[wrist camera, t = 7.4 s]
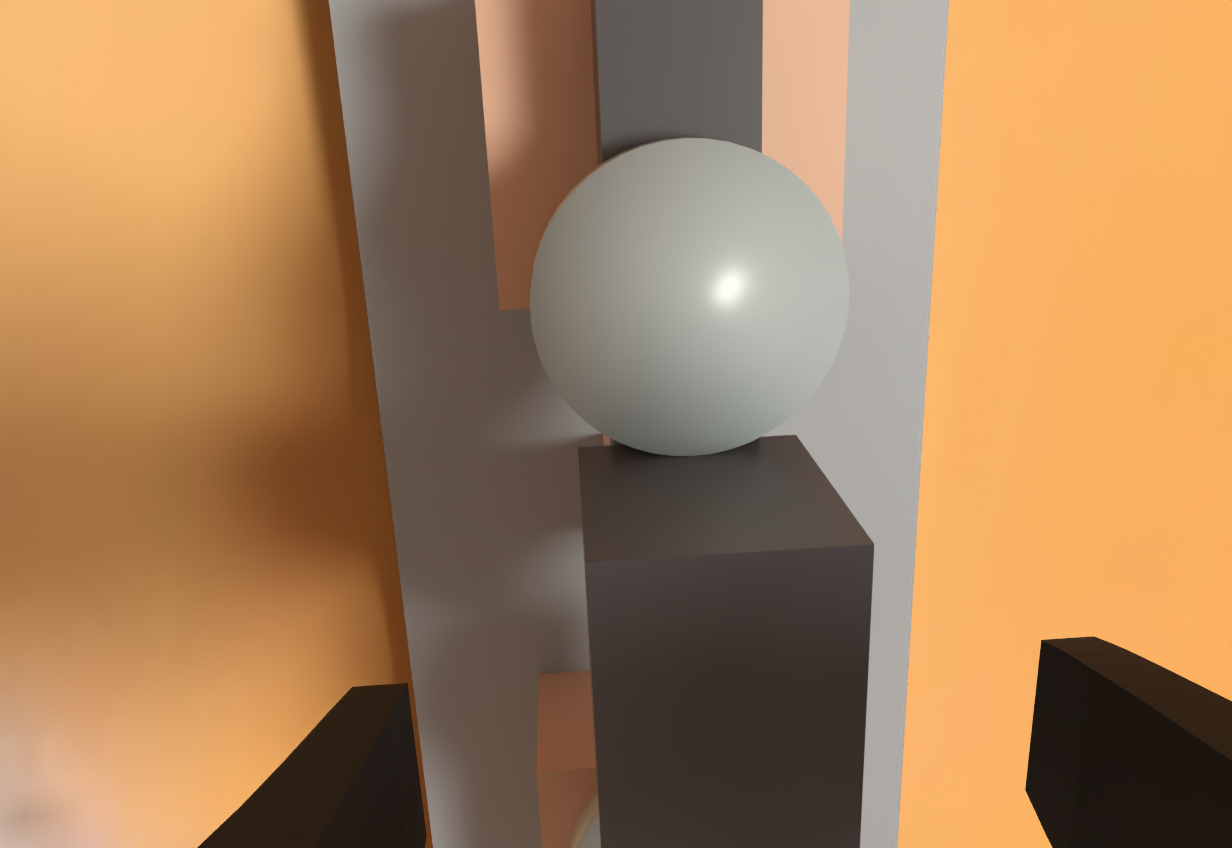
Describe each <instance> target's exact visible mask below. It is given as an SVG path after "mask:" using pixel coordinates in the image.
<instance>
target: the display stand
mask: <svg viewBox="0 0 1232 848" xmlns="http://www.w3.org/2000/svg"><path fill="white" fill-rule="evenodd" d="M329 8H330V16H331V24H332V32H333V40H334V48H335V56H336V64H337V73H338V81H339V89H340V97H341V105H342V113H343V121H344V129H345V137H346V146H347V154H348V162H349V170H350V178H351V186H352V194H353V202H354V211H355V219H356V227H357V235H358V243H359V251H360V259H361V267H362V275H363V284H364V292H365V300H366V308H367V316H368V324H369V332H370V340H371V349H372V357H373V365H374V373H375V381H376V389H377V397H378V405H379V413H380V422H381V430H382V438H383V446H384V454H385V462H386V470H387V478H388V486H389V495H390V503H391V511H392V519H393V527H394V535H395V543H396V551H397V560H398V568H399V576H400V584H401V592H402V600H403V608H404V616H405V624H406V633H407V641H408V649H409V657H410V665H411V673H412V681H413V689H414V698H415V706H416V714H417V722H418V730H419V738H420V746H421V754H422V762H423V771H424V779H425V787H426V795H427V803H428V811H429V819H430V827H431V836H432V844H433V848H570V845H571V839H572V836H573V833H574V830H575V827H576V824H577V822H578V820H579V818H580V816H581V814H582V812H583V811H584V809H585V808H586V806H587V805H588V804H589V802H590V801H591V799H592V798H593V797H594V796H595V795H596V794H597V782H596V766H595V749H594V731H593V713H592V695H591V677H590V659H589V640H588V622H587V604H586V586H585V568H584V550H583V532H582V514H581V496H580V478H579V460H578V447H591V446H608V445H610V437H608V436H606V435H604V434H603V433H601V432H599V431H598V430H596V429H595V428H594V427H592V426H591V425H590V424H588V423H587V422H586V421H584V420H583V419H582V418H581V417H580V416H579V415H578V414H577V413H576V412H575V411H574V410H573V409H572V408H571V407H570V406H569V405H568V404H567V403H566V402H565V400H564V399H563V398H562V397H561V395H560V394H559V393H558V391H557V390H556V388H555V387H554V385H553V383H552V382H551V380H550V378H549V377H548V375H547V373H546V371H545V369H544V366H543V364H542V362H541V359H540V357H539V355H538V351H537V348H536V344H535V340H534V337H533V332H532V324H531V317H530V289H531V281H532V273H533V266H534V261H535V257H536V254H537V250H538V246H539V243H540V241H541V238H542V236H543V234H544V231H545V229H546V226H547V224H548V222H549V221H550V219H551V217H552V216H553V214H554V212H555V210H556V209H557V207H558V206H559V204H560V203H561V202H562V201H563V199H564V198H565V197H566V195H567V194H568V193H569V191H570V190H571V189H572V188H573V187H574V186H575V185H576V184H577V183H578V182H579V181H580V180H581V179H582V178H583V177H584V176H585V175H587V174H588V173H589V172H591V171H592V170H593V169H595V168H596V167H597V166H598V159H597V137H596V114H595V92H594V69H593V46H592V24H591V1H590V0H329ZM948 8H949V0H763V65H762V154H764V155H766V156H768V157H770V158H772V159H774V160H775V161H777V162H778V163H780V164H781V165H783V166H785V167H786V168H788V169H789V170H790V171H792V172H793V173H794V174H795V175H796V176H797V177H798V178H800V179H801V180H802V181H803V182H804V183H805V184H806V185H807V186H808V187H809V188H810V190H811V191H812V192H813V193H814V194H815V195H816V197H817V198H818V199H819V200H820V202H821V203H822V205H823V206H824V208H825V209H826V211H827V213H828V214H829V216H830V217H831V219H832V221H833V224H834V226H835V228H836V230H837V232H838V234H839V237H840V240H841V243H842V246H843V250H844V253H845V256H846V262H847V268H848V275H849V307H848V317H847V322H846V326H845V330H844V335H843V339H842V341H841V344H840V347H839V349H838V352H837V355H836V357H835V359H834V361H833V363H832V365H831V367H830V369H829V371H828V373H827V375H826V376H825V378H824V379H823V381H822V382H821V384H820V385H819V386H818V388H817V389H816V391H815V392H814V393H813V394H812V396H811V397H810V398H809V399H808V400H807V401H806V402H805V404H804V405H803V406H802V407H801V408H800V409H799V410H798V411H796V412H795V413H794V414H793V415H792V416H791V417H790V418H789V419H787V420H786V421H785V422H783V423H782V424H781V425H779V426H778V427H776V428H775V429H773V430H772V431H770V432H769V433H767V434H765V435H763V436H761V437H764V436H781V435H797V437H798V438H799V440H800V441H801V442H802V444H803V445H804V447H805V448H806V449H807V451H808V452H809V454H810V455H811V456H812V458H813V459H814V461H815V462H816V463H817V465H818V466H819V468H820V469H821V470H822V472H823V473H824V474H825V476H826V477H827V479H828V480H829V481H830V483H831V484H832V486H833V487H834V488H835V490H836V491H837V493H838V494H839V495H840V497H841V498H842V500H843V501H844V502H845V504H846V505H847V507H848V508H849V509H850V511H851V512H852V514H853V515H854V516H855V518H856V519H857V521H858V522H859V523H860V525H861V526H862V528H863V529H864V530H865V532H866V533H867V535H868V536H869V537H870V539H871V540H872V542H873V543H874V564H873V585H872V606H871V627H870V648H869V669H868V690H867V710H866V731H865V752H864V773H863V794H862V815H861V836H860V848H897V844H898V828H899V811H900V795H901V778H902V762H903V746H904V729H905V713H906V697H907V680H908V664H909V647H910V631H911V615H912V598H913V582H914V565H915V549H916V533H917V516H918V500H919V483H920V467H921V451H922V434H923V418H924V401H925V385H926V369H927V352H928V336H929V319H930V303H931V287H932V270H933V254H934V238H935V221H936V205H937V188H938V172H939V156H940V139H941V123H942V106H943V90H944V74H945V57H946V41H947V24H948Z"/></svg>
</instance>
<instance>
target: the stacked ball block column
mask: <svg viewBox="0 0 1232 848" xmlns="http://www.w3.org/2000/svg"><path fill="white" fill-rule="evenodd" d="M590 1H591V24H592V46H593V69H594V92H595V114H596V137H597V159H598V166H597V167H596V168H595V169H593V170H592V171H591V172H589V173H588V174H587V175H585V176H584V177H583V178H582V179H581V180H580V181H579V182H578V183H577V184H576V185H575V186H574V187H573V188H572V189H571V190H570V191H569V193H568V194H567V195H566V197H565V198H564V199H563V201H562V202H561V203H560V204H559V206H558V207H557V209H556V210H555V212H554V214H553V216H552V217H551V219H550V221H549V222H548V224H547V226H546V229H545V231H544V234H543V236H542V238H541V241H540V243H539V246H538V250H537V254H536V257H535V261H534V266H533V273H532V281H531V289H530V317H531V324H532V332H533V337H534V340H535V344H536V348H537V351H538V355H539V357H540V359H541V362H542V364H543V366H544V369H545V371H546V373H547V375H548V377H549V378H550V380H551V382H552V383H553V385H554V387H555V388H556V390H557V391H558V393H559V394H560V395H561V397H562V398H563V399H564V400H565V402H566V403H567V404H568V405H569V406H570V407H571V408H572V409H573V410H574V411H575V412H576V413H577V414H578V415H579V416H580V417H581V418H582V419H583V420H584V421H586V422H587V423H588V424H590V425H591V426H592V427H594V428H595V429H596V430H598V431H599V432H601V433H603V434H604V435H606V436H608V437H610V445H608V446H591V447H578V460H579V478H580V496H581V514H582V532H583V550H584V568H585V586H586V604H587V622H588V640H589V659H590V677H591V695H592V713H593V731H594V749H595V766H596V782H597V794H596V795H595V796H594V797H593V798H592V799H591V801H590V802H589V804H588V805H587V806H586V808H585V809H584V811H583V812H582V814H581V816H580V818H579V820H578V822H577V824H576V827H575V830H574V833H573V836H572V839H571V845H570V848H860V836H861V815H862V794H863V773H864V752H865V731H866V710H867V690H868V669H869V648H870V627H871V606H872V585H873V564H874V543H873V542H872V540H871V539H870V537H869V536H868V535H867V533H866V532H865V530H864V529H863V528H862V526H861V525H860V523H859V522H858V521H857V519H856V518H855V516H854V515H853V514H852V512H851V511H850V509H849V508H848V507H847V505H846V504H845V502H844V501H843V500H842V498H841V497H840V495H839V494H838V493H837V491H836V490H835V488H834V487H833V486H832V484H831V483H830V481H829V480H828V479H827V477H826V476H825V474H824V473H823V472H822V470H821V469H820V468H819V466H818V465H817V463H816V462H815V461H814V459H813V458H812V456H811V455H810V454H809V452H808V451H807V449H806V448H805V447H804V445H803V444H802V442H801V441H800V440H799V438H798V437H797V435H781V436H764V437H761V436H763V435H765V434H767V433H769V432H770V431H772V430H773V429H775V428H776V427H778V426H779V425H781V424H782V423H783V422H785V421H786V420H787V419H789V418H790V417H791V416H792V415H793V414H794V413H795V412H796V411H798V410H799V409H800V408H801V407H802V406H803V405H804V404H805V402H806V401H807V400H808V399H809V398H810V397H811V396H812V394H813V393H814V392H815V391H816V389H817V388H818V386H819V385H820V384H821V382H822V381H823V379H824V378H825V376H826V375H827V373H828V371H829V369H830V367H831V365H832V363H833V361H834V359H835V357H836V355H837V352H838V349H839V347H840V344H841V341H842V339H843V335H844V330H845V326H846V322H847V317H848V307H849V275H848V268H847V262H846V256H845V253H844V250H843V246H842V243H841V240H840V237H839V234H838V232H837V230H836V228H835V226H834V224H833V221H832V219H831V217H830V216H829V214H828V213H827V211H826V209H825V208H824V206H823V205H822V203H821V202H820V200H819V199H818V198H817V197H816V195H815V194H814V193H813V192H812V191H811V190H810V188H809V187H808V186H807V185H806V184H805V183H804V182H803V181H802V180H801V179H800V178H798V177H797V176H796V175H795V174H794V173H793V172H792V171H790V170H789V169H788V168H786V167H785V166H783V165H781V164H780V163H778V162H777V161H775V160H774V159H772V158H770V157H768V156H766V155H764V154H762V65H763V0H590Z"/></svg>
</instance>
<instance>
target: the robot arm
mask: <svg viewBox="0 0 1232 848" xmlns="http://www.w3.org/2000/svg"><path fill="white" fill-rule="evenodd" d="M1025 790H1026V792H1027V794H1028V797H1029V799H1030V801H1031V803H1032V805H1033V807H1034V810H1035V812H1036V814H1037V816H1038V818H1039V820H1040V823H1041V825H1042V827H1043V829H1044V831H1045V833H1046V835H1047V837H1048V839H1049V841H1050V843H1051V845H1052V847H1053V848H1232V701H1230V700H1228V699H1226V698H1224V697H1222V696H1220V695H1218V694H1216V693H1214V692H1212V691H1210V690H1208V689H1206V688H1204V687H1202V686H1200V685H1198V684H1196V683H1194V682H1192V681H1190V680H1188V679H1186V678H1184V677H1182V676H1180V675H1178V674H1176V673H1174V672H1172V671H1170V670H1167V669H1165V668H1163V667H1161V666H1159V665H1157V664H1155V663H1153V662H1151V661H1149V660H1147V659H1145V658H1143V657H1141V656H1139V655H1136V654H1134V653H1132V652H1130V651H1128V650H1126V649H1123V648H1121V647H1119V646H1116V645H1114V644H1112V643H1109V642H1107V641H1104V640H1102V639H1099V638H1096V637H1080V638H1065V639H1050V640H1041V649H1040V658H1039V668H1038V677H1037V686H1036V696H1035V705H1034V714H1033V724H1032V733H1031V742H1030V752H1029V761H1028V770H1027V780H1026V789H1025ZM425 842H426V829H425V821H424V813H423V805H422V797H421V789H420V781H419V772H418V764H417V756H416V748H415V740H414V732H413V724H412V716H411V708H410V700H409V692H408V684H407V683H403V684H389V685H374V686H359V687H352V688H351V689H350V690H349V691H348V692H347V693H346V694H345V695H344V696H343V698H342V699H341V700H340V701H339V702H338V703H337V704H336V705H335V706H334V707H333V708H332V709H331V710H330V711H329V712H328V713H327V715H326V716H325V717H324V718H323V719H322V720H321V721H320V722H319V723H318V724H317V726H316V727H315V728H314V729H313V730H312V731H311V732H310V733H309V734H308V735H307V737H306V738H305V739H304V740H303V741H302V742H301V743H300V744H299V745H298V746H297V748H296V749H295V750H294V751H293V752H292V753H291V754H290V755H289V756H288V757H287V758H286V760H285V761H284V762H283V763H282V764H281V765H280V766H279V767H278V768H277V769H276V770H275V771H274V772H273V773H272V774H271V775H270V776H269V777H268V779H267V780H266V781H265V782H264V783H263V784H262V785H261V786H260V787H259V788H258V789H257V790H256V791H255V792H254V793H253V794H252V795H251V796H250V797H249V798H248V799H247V800H246V801H245V803H244V804H243V805H242V806H241V807H240V808H239V809H238V810H237V811H235V812H234V813H233V814H232V815H231V816H230V817H229V818H228V819H227V820H226V821H225V822H224V823H223V824H222V825H221V826H220V827H219V828H218V829H217V830H215V831H214V832H213V833H212V834H211V835H210V836H209V837H208V838H207V839H206V840H205V841H204V842H203V843H202V844H201V845H200V846H199V847H198V848H425Z"/></svg>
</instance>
